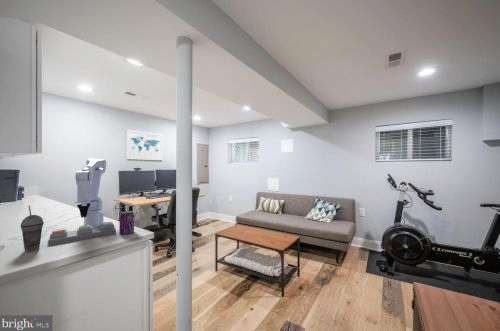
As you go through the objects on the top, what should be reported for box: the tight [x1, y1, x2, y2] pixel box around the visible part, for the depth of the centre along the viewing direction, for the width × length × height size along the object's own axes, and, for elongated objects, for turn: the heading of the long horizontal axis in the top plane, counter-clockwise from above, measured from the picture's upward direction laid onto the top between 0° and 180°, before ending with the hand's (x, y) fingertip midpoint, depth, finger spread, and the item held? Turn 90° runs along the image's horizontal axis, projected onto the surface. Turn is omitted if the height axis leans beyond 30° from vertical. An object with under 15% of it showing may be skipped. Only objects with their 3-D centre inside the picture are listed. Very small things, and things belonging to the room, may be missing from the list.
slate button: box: [102, 221, 113, 226], centre depth 116 cm, size 4×4×2 cm
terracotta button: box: [53, 227, 65, 234], centre depth 103 cm, size 4×4×2 cm
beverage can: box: [118, 210, 135, 235], centre depth 115 cm, size 7×7×12 cm
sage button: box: [78, 224, 90, 230], centre depth 109 cm, size 4×4×2 cm
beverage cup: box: [20, 205, 45, 253], centre depth 91 cm, size 7×7×20 cm
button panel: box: [47, 222, 117, 247], centre depth 109 cm, size 27×11×4 cm, turn 130°
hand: (83, 217), depth 113 cm, fingers closed
